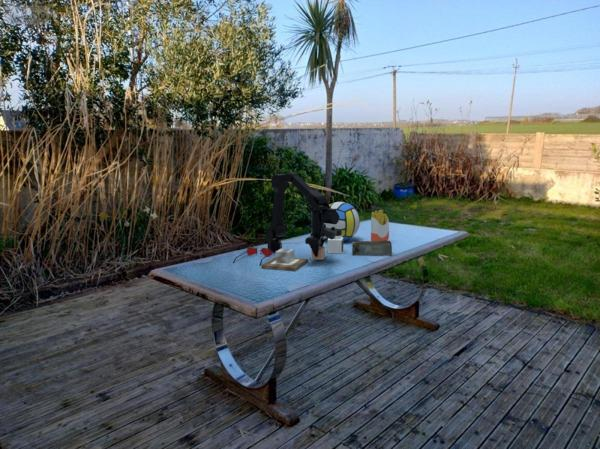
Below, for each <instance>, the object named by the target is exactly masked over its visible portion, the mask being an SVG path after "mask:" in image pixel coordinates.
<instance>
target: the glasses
mask: <svg viewBox="0 0 600 449" xmlns="http://www.w3.org/2000/svg"><path fill="white" fill-rule="evenodd" d="M258 249H259V247H253V246H252V247H249V246H248V247H247V248H246V251H245V252H243V253H241V254H239V255H238V256H236V257H235V258H234V260H233V262H232V263H235V261H236V260H237V259H238V258H239V257H241V256H243V255H244V254H247V256H248V255H250V256H249V257H251V256H253V255H254V256H255V255H257V254H258ZM268 249H269V248H268V247H262V248H260V250H259V251H260V252H259V254H260V255H263V256H264V257H262V258H261V259H260V263H259V266H261V265H262V263H263V262H262V261H263V260H264V259H265V258H269V257H271V256H272V255H273V254H274V253H273V252H272V251H270V250H271V249H270V250H268Z"/></svg>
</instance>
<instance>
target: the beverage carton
mask: <svg viewBox="0 0 600 449" xmlns="http://www.w3.org/2000/svg"><path fill="white" fill-rule="evenodd" d="M392 251H393V244H392V242H391V241H390V240H388V241H386V240H383V241H371V240H361V241H360V240H353V241H351V252H352V253H351V255H352V256H360V257H361V256H362V257H364V256H366V257H367V256H370V257H371V256H373V257H374V256H375V257H376V256H378V255H391V256H392V254H393V253H392ZM378 257H379V256H378Z"/></svg>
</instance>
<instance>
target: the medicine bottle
mask: <svg viewBox="0 0 600 449" xmlns="http://www.w3.org/2000/svg"><path fill="white" fill-rule="evenodd" d="M336 231H337V234H336V236H335V238H334V239H329V238H328V239H327V254H330V255H331V254H336V255H339V254H341V255H342V254H343V252H344V241H343V237H342V230H341V229H339V228H336Z"/></svg>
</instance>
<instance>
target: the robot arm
mask: <svg viewBox="0 0 600 449" xmlns="http://www.w3.org/2000/svg"><path fill="white" fill-rule="evenodd" d="M270 182H271V188H272V190H273V193H274V194H273V208H272V209H273V210H272V219H271V222H270V223H269V225H268V229H267V233H266V234H265V235H264V237H263V238H264V241H265V242H266V243H267V248H269V249H268V250H270V249H271V250H270V251H272V252H273V253H272V254H276V251H278V250H280V249H283V243H282V240H284V236H285V234H286V233H287V224H284V221H283V217H284V206H285V205H284V201H285V192H287V189H288V187H289V184H292V185H293V186H294V188H296V189H297V190H298V191H299V192H300V193H301V194H302V195H303V196H304V197H305V201H306V202H307V204H308V205H309V206H310V208H308V209H307V212H308V213H311V224H309V227H310V228H311V233H310V236H307V237H306V238H305V240H304V242H305V244H306V245H309V247H310V249H312V251H313V253H314V255H315V257H318V251H319V246H321V247H324V244H325V242H326V241H328V238H329V239H334V238H335V236H336V234H337V231H336V228H335V227H332V228H327V227H326V225H325V224H324V223H328V224H337V223H338V221H339V214H338V212H336V209H331V208H330V206H329V205H330V204H329V202H328V201H327V197H326V196H325V195H324V194H323V193H321V192H320V191H318V190H315V189H313V188H312V187H311V186H310V185H309V184H308V183H307V182H306V181H305V180H304V179H303V178H301V177H300V176H299V174H298V172H290V173H289V172H288V173H286V174H285V173H280V174H273V176H271V181H270Z"/></svg>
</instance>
